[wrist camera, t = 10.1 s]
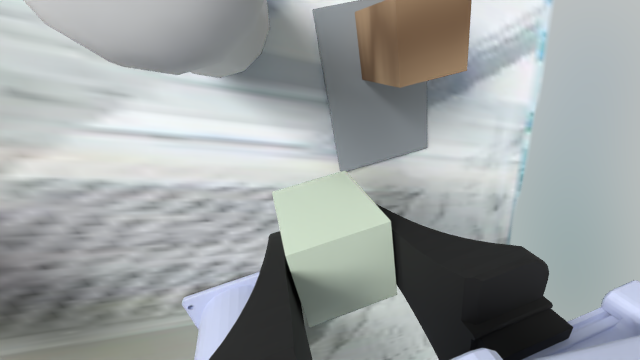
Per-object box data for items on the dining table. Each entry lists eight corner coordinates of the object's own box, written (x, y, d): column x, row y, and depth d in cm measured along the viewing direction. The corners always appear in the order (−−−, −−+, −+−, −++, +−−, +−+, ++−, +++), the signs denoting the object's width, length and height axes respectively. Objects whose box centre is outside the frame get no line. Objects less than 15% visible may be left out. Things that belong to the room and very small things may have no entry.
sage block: (354, 229, 16) (397, 294, 12) (290, 250, 15) (309, 327, 11) (345, 170, 14) (390, 221, 10) (271, 191, 14) (285, 256, 9)
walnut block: (414, 66, 19) (467, 70, 14) (362, 79, 18) (399, 87, 14) (413, -1, 17) (472, -20, 12) (354, 11, 16) (395, -4, 12)
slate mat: (424, 146, 22) (426, 147, 22) (340, 171, 21) (341, 172, 21) (423, -12, 17) (426, -14, 17) (312, 9, 16) (313, 9, 16)
